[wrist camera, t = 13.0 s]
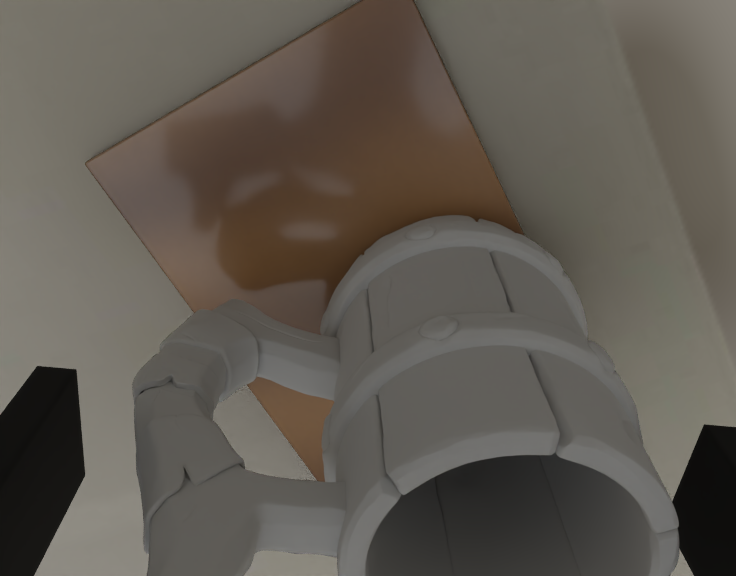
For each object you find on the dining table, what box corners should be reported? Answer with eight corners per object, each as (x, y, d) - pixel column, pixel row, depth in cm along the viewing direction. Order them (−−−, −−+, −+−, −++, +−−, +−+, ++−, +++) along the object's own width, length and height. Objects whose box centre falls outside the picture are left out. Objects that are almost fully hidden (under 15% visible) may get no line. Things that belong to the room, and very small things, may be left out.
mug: (534, 433, 24) (689, 837, 13) (183, 392, 23) (25, 792, 12) (600, 223, 20) (883, 524, 9) (194, 165, 19) (-12, 427, 8)
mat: (88, 159, 20) (83, 163, 19) (401, -24, 18) (402, -24, 17) (358, 529, 26) (359, 538, 25) (612, 422, 24) (616, 430, 24)
